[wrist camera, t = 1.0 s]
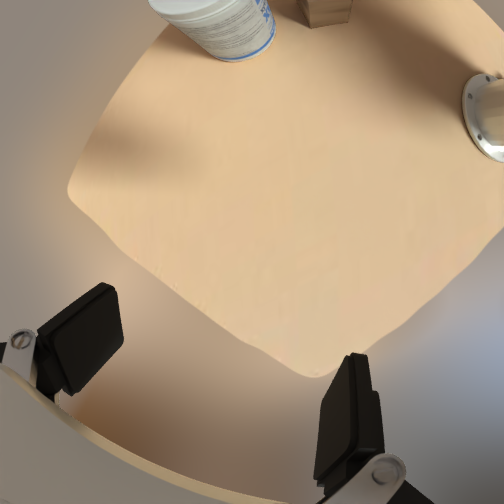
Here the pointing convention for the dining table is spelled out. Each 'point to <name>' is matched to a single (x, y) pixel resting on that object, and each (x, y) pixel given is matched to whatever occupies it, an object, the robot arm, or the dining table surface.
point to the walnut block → (325, 11)
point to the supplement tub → (222, 25)
